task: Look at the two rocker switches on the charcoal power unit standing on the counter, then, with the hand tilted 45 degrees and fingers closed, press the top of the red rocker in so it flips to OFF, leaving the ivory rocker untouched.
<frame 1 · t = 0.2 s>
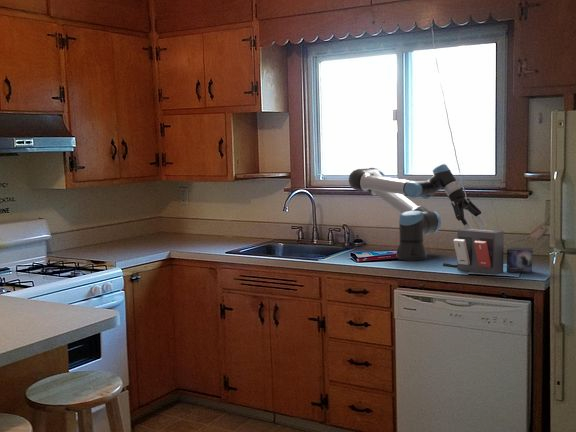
hand: (477, 228, 314), 16 cm above the countertop, tool tilted 35°, fingers open, 13 cm apart
power unit: (480, 270, 291), on the countertop
small box: (519, 272, 285), on the countertop
rocker red: (482, 254, 281), point 9 cm above the countertop, hinge at 22.0°
rocker ivory: (461, 251, 288), point 9 cm above the countertop, hinge at 22.0°
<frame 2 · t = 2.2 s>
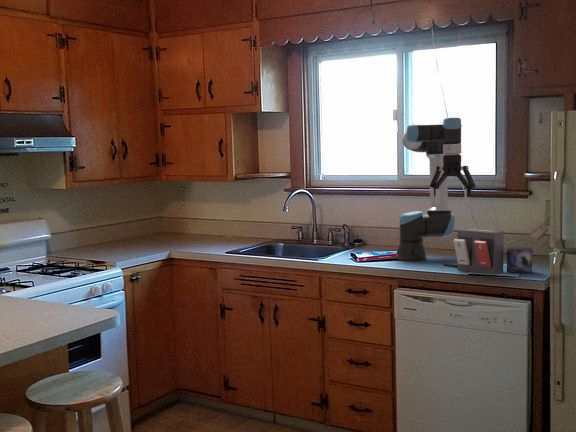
hand: (452, 204, 277), 31 cm above the countertop, tool pointing down, fingers open, 13 cm apart
nothing on the countertop moved.
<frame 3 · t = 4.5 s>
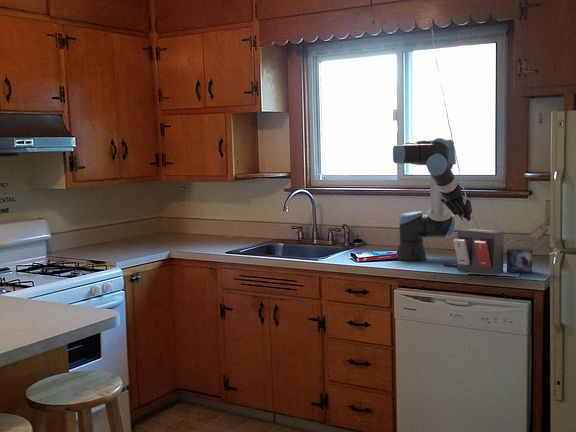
hand: (469, 224, 271), 23 cm above the countertop, tool tilted 45°, fingers closed
nothing on the countertop moved.
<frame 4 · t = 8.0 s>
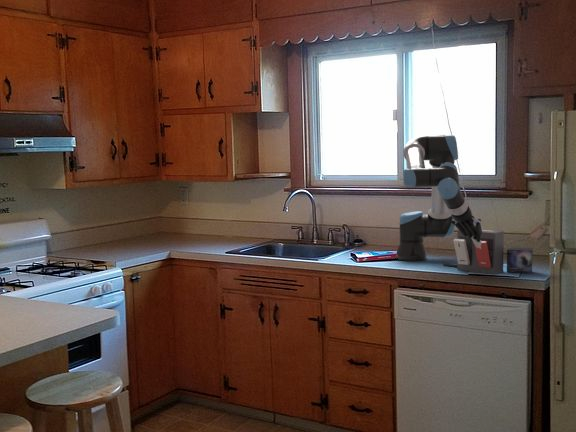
hand: (479, 245, 278), 13 cm above the countertop, tool tilted 45°, fingers closed
rocker red: (482, 254, 281), point 9 cm above the countertop, hinge at 20.7°, touching gripper
everything else where it was.
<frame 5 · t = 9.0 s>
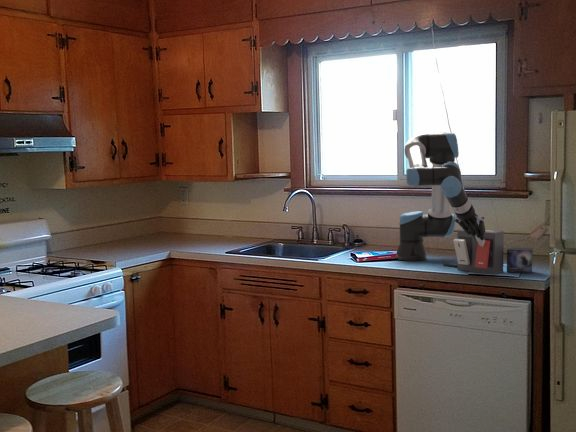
hand: (482, 243, 280), 14 cm above the countertop, tool tilted 45°, fingers closed
rocker red: (482, 253, 281), point 9 cm above the countertop, hinge at -12.5°, touching gripper
everything else where it was.
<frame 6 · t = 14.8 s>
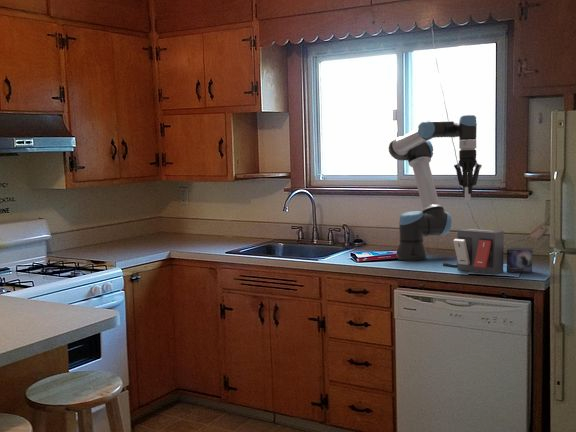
hand: (467, 200, 300), 30 cm above the countertop, tool pointing down, fingers closed
rocker red: (482, 253, 281), point 9 cm above the countertop, hinge at -25.2°
everything else where it was.
at the end: rocker red at -25° (first picture: +22°); rocker ivory at +22° (first picture: +22°) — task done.
